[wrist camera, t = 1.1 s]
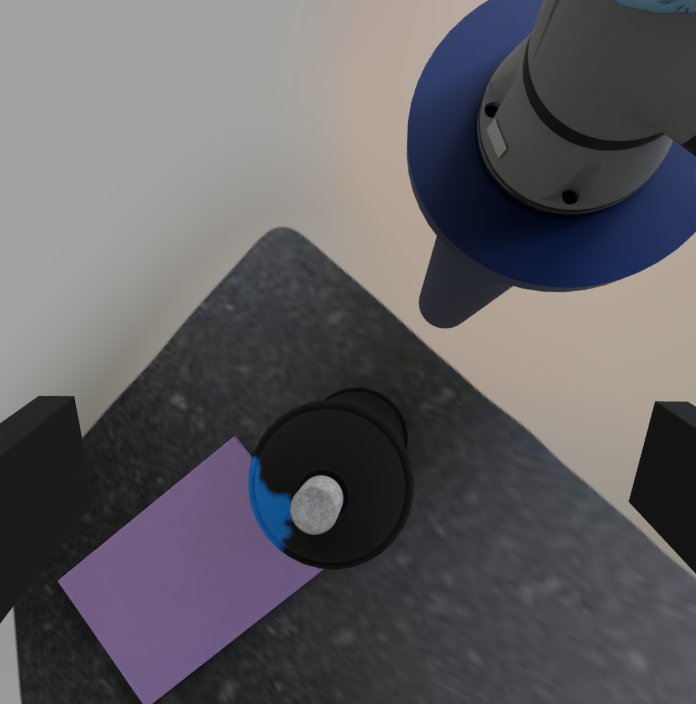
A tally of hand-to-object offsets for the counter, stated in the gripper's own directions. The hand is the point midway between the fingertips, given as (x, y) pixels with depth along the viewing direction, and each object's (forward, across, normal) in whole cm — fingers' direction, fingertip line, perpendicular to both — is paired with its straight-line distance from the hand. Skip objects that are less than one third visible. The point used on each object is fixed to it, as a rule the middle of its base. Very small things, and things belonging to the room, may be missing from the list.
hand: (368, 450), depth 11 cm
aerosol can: (+25, +1, -14) cm, 28 cm away
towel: (+22, -12, -25) cm, 36 cm away
